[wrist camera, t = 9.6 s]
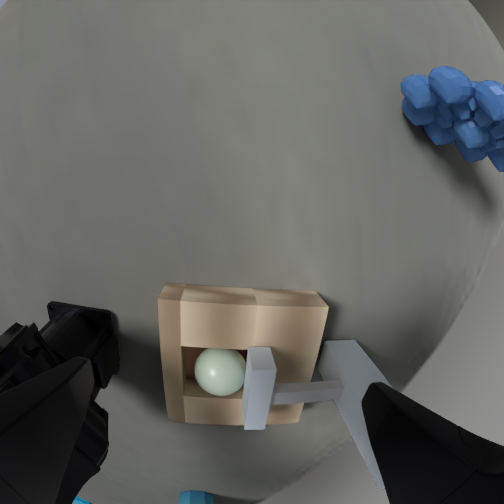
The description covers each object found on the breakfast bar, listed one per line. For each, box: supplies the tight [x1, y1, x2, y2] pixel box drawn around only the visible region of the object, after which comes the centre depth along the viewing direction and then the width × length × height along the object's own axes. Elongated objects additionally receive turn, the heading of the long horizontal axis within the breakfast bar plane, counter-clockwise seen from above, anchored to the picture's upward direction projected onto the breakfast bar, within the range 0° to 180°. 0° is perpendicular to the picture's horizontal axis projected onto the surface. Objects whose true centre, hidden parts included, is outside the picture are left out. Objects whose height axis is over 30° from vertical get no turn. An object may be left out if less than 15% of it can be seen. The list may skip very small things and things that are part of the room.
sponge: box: [73, 497, 91, 504], centre depth 29 cm, size 2×12×6 cm
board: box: [158, 283, 329, 425], centre depth 21 cm, size 12×12×3 cm
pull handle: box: [242, 339, 394, 491], centre depth 16 cm, size 10×6×14 cm, turn 84°
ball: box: [195, 348, 246, 396], centre depth 20 cm, size 4×4×4 cm
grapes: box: [401, 66, 504, 172], centre depth 13 cm, size 12×7×12 cm, turn 67°
